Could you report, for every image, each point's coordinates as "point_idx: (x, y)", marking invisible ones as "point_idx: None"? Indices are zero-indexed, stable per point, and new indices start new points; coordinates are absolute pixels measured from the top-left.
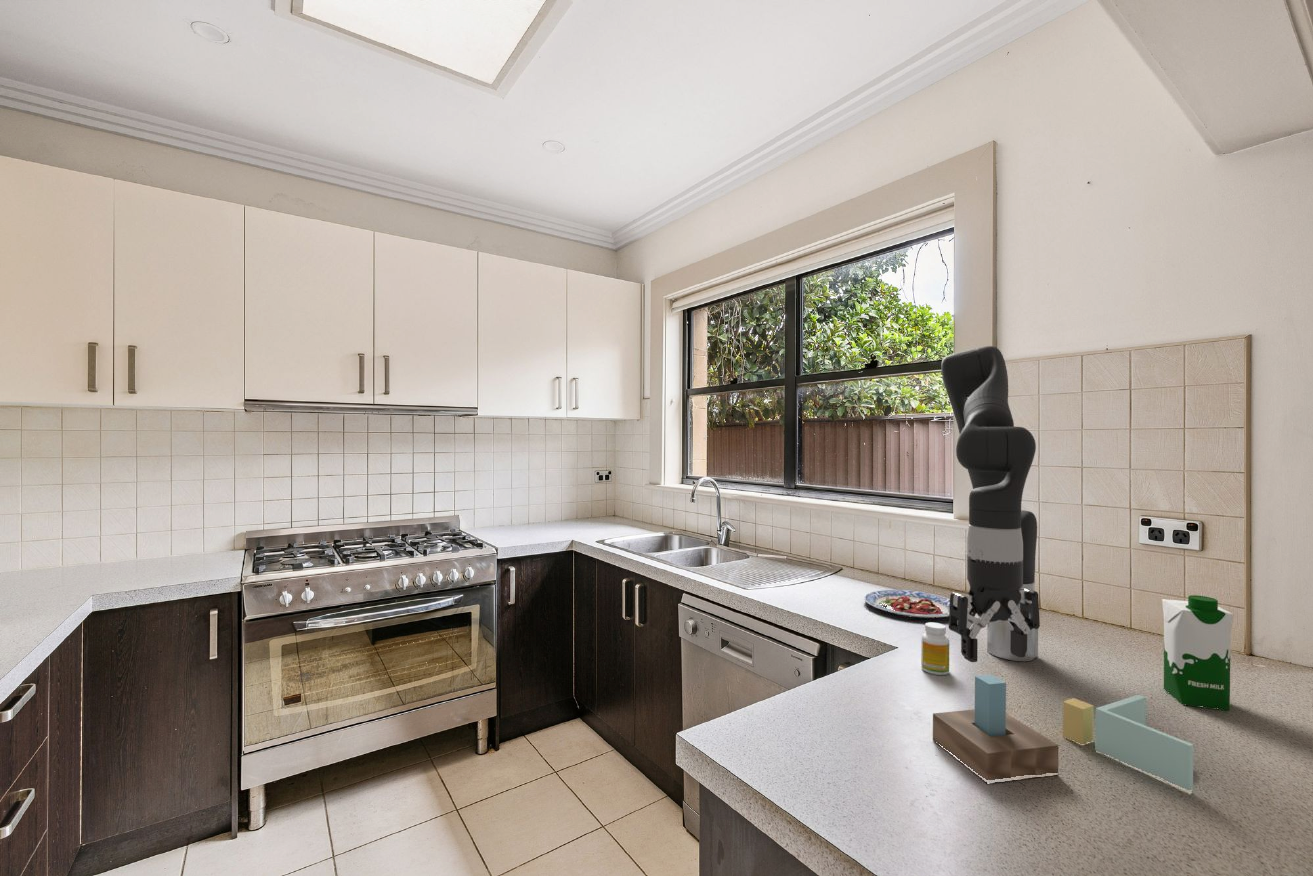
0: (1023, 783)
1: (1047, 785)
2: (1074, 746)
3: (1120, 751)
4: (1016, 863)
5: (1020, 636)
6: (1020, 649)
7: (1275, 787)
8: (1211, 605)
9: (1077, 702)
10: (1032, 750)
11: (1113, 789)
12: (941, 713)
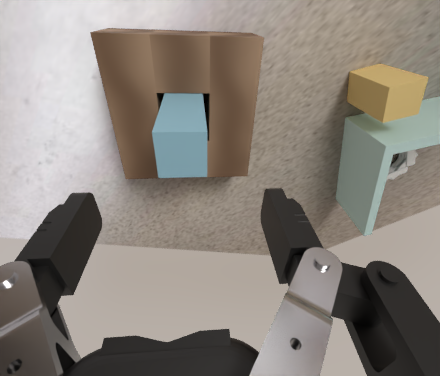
0: None
1: None
2: (334, 99)
3: (350, 152)
4: None
5: (278, 272)
6: (266, 235)
7: (424, 200)
8: None
9: (409, 96)
10: None
11: (274, 182)
12: (112, 37)
